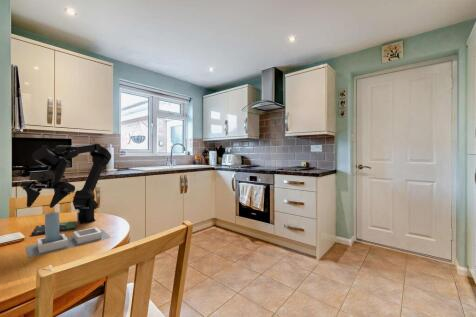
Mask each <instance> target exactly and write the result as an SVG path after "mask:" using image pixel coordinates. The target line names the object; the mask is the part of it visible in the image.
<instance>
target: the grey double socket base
mask: <svg viewBox="0 0 476 317" xmlns="http://www.w3.org/2000/svg"><path fill="white" fill-rule="evenodd" d="M111 238H112V237H111V235H109V234H108V233H107V232H106V231H105V230H104V229H99V228H98V227H97V226H94V227H90V228H85V229H80V230H76V231H75V230H73V235H72V236H68V237H67V236H66V234H65V233H61V234H60V233H59V241H55V242H51V243H46V244H45V237H41V238H36V243H35V244H31V245H27V246H25V252H26V255H27V258H28V259H30V258H31V259H32V258H34V257H39V256H43V255H47V254H51V253H55V252H59V251H63V250H68V249H71V248H75V247H79V246H83V245H88V244H91V243H96V242H100V241H104V240H107V239H111Z"/></svg>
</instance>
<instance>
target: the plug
mask: <svg viewBox="0 0 476 317" xmlns="http://www.w3.org/2000/svg"><path fill="white" fill-rule="evenodd" d="M59 223H60V212H54V211H53V212H48V213H45V214H44V225H45V234H44V236H45V237H44V238H45V244H46V243H51V242H55V241H59V235H60V232H59Z"/></svg>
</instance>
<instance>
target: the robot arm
mask: <svg viewBox="0 0 476 317" xmlns="http://www.w3.org/2000/svg"><path fill="white" fill-rule="evenodd" d="M85 153H89V155H90V157H91V158H92V159H91V160H92V165H91V169H90V171H89V173H88V175H87V178H86V180H85V183H84V185H83V187H82V188H81V189H80V190H78V189H77V190H76V186H75V185H74V184H72V183H70V182H68V181H62V179H65V178H66V176H65V175H64V174H65V173H66V170H67V168H68V167H72V166H73V165H72V163H71V161H70V160H71V159H74V158H76V157H78V156H79V155H80V154H85ZM31 158H32V159H33V160H34V161H36V162H38V163H39V164H41V165H42V166H44V167H47V168H48V169H46V170H43V171H42V172H32V171H31V172H29V177H28V180H25V181H22V183H21V185H20V188H21V189H22V190H24V191H25V193H26V207H27V208H31V206H33V204H34V202H36V200H37V199H38V197H39V196H40V194H41V191H42V190H53V192H54V194H53V197H52V198H51V201H50V203H49V208H50V209H53V208H54V207H55V206H56V205H57V204H58V203H60V202H61V201H62V200H63V199H64V198H66V197H67V196H69V195H71V194H73V193H74V196H73V198H72V206H73V207H74V210H75V211H76V210H77V212H76V221H77V222H78V223H79V224H85V223H90V222H95V221H96V219H95V210H96V209H98V207H99V203H98V202H97V201H96V200H95V197H96V195H95V192H94V191H95V188H96V187H97V184H98V181H99V179H100V177H101V174H102V171H103V169H104V167H105V166H107V165H108V164H109V162H110V161H111V159H112V154H111V152H110V151H109V150H108V149H107V148H105V147H103V146H102V145H101V144H100V143H98V142H89V143H85V144H79V145H63V144H60V145H56V146H55V148H53V149H52V148H51V147H50V146H48V145H42V146H41V147H40V148H37V149H36V150H34V151H33V153H32V155H31ZM66 159H67V160H66ZM68 159H70V160H68Z"/></svg>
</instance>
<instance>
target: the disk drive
mask: <svg viewBox="0 0 476 317" xmlns="http://www.w3.org/2000/svg"><path fill="white" fill-rule="evenodd" d="M77 222H78V221H77V220H74V221H71V220H70V221H65V222H59V233H61V232H67V231H68V232H69V231H75V230H76V228H77V225H78V224H77ZM42 235H45V224H41V225H35V227H34V228H33V231H32V232H31V237H35V236H42Z"/></svg>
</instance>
